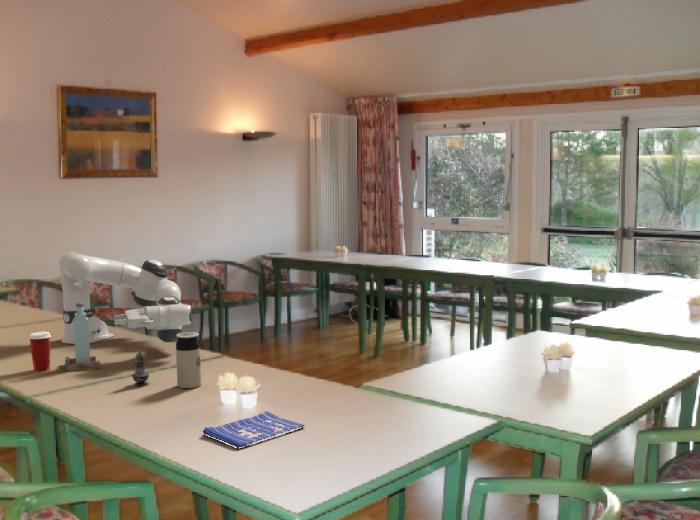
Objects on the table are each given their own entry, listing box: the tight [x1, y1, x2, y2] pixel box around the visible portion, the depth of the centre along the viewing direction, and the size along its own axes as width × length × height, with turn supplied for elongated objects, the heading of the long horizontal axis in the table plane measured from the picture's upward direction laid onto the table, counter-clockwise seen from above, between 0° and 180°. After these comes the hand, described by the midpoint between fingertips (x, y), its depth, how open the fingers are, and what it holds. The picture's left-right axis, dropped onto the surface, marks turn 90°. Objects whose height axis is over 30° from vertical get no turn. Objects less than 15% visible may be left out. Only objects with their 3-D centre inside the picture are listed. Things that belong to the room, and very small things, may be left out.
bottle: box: [73, 303, 91, 364], centre depth 284 cm, size 5×5×24 cm
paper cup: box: [28, 331, 52, 373], centre depth 280 cm, size 8×8×14 cm
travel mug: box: [175, 331, 202, 389], centre depth 256 cm, size 8×8×18 cm
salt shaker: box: [131, 350, 150, 388], centre depth 259 cm, size 6×6×12 cm
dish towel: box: [202, 410, 306, 448], centre depth 209 cm, size 17×24×3 cm
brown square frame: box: [64, 355, 101, 373], centre depth 285 cm, size 12×12×3 cm
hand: (113, 320), depth 288 cm, fingers open, 8 cm apart
